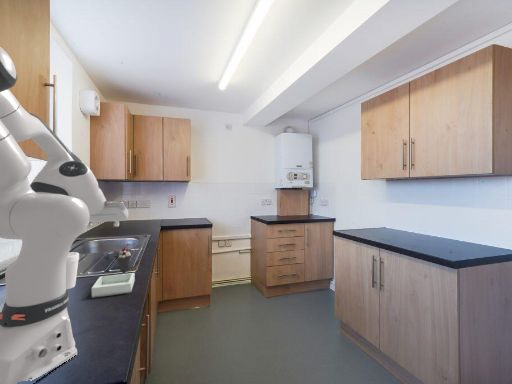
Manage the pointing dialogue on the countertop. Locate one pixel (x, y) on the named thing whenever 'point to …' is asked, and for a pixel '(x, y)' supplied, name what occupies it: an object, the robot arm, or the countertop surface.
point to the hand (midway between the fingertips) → (103, 225)
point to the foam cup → (71, 269)
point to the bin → (113, 285)
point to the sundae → (123, 259)
